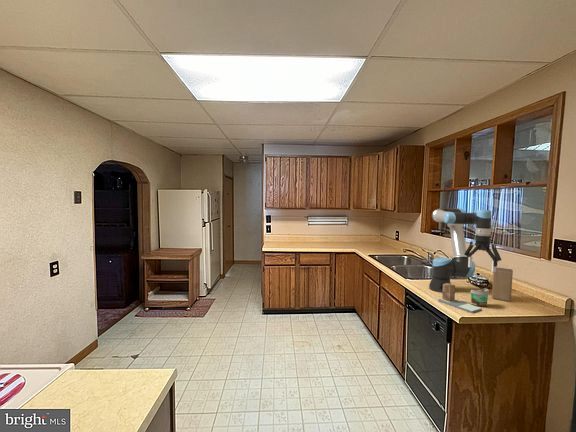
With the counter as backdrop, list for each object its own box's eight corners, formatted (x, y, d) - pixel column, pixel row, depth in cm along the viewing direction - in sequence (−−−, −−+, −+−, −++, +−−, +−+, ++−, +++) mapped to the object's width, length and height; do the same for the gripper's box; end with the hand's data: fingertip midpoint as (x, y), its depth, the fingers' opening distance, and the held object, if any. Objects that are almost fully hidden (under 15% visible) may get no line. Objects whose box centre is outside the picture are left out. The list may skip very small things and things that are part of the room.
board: (438, 301, 181) (438, 299, 181) (447, 299, 185) (447, 297, 185) (471, 313, 162) (471, 310, 162) (481, 310, 166) (481, 308, 166)
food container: (478, 308, 169) (479, 292, 168) (469, 305, 175) (470, 289, 174) (493, 307, 172) (494, 291, 172) (484, 303, 178) (485, 288, 178)
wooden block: (492, 295, 195) (494, 266, 193) (511, 298, 188) (512, 269, 187) (491, 298, 187) (493, 269, 186) (510, 302, 180) (512, 272, 179)
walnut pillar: (442, 299, 181) (442, 284, 180) (447, 298, 183) (447, 283, 182) (449, 301, 176) (450, 286, 176) (454, 300, 179) (455, 285, 178)
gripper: (459, 233, 181) (457, 265, 182) (502, 237, 158) (500, 274, 159) (466, 232, 184) (464, 264, 185) (509, 237, 162) (507, 273, 163)
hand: (481, 269), depth 172 cm, fingers open, 13 cm apart
